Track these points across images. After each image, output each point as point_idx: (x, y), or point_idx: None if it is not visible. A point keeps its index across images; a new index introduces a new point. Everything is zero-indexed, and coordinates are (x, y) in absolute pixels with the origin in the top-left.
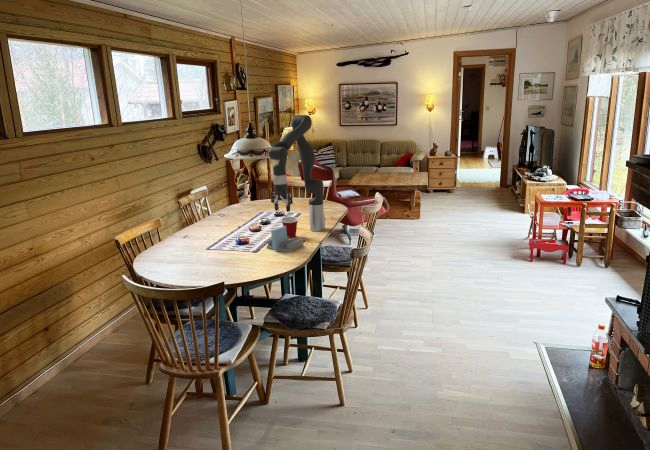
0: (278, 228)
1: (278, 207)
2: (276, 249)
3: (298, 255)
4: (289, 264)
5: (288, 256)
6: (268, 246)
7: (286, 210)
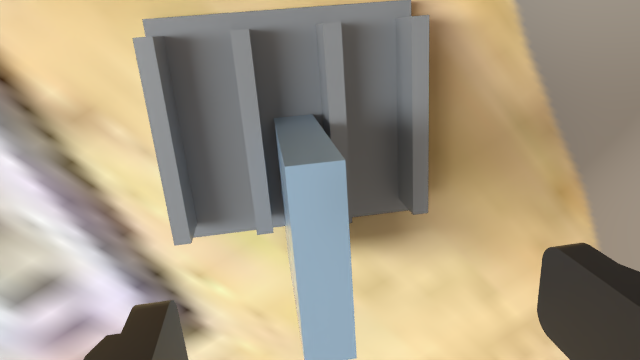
0: (329, 278)
1: (160, 337)
2: None
3: (512, 202)
4: None
5: (464, 253)
6: (205, 235)
7: (560, 347)
